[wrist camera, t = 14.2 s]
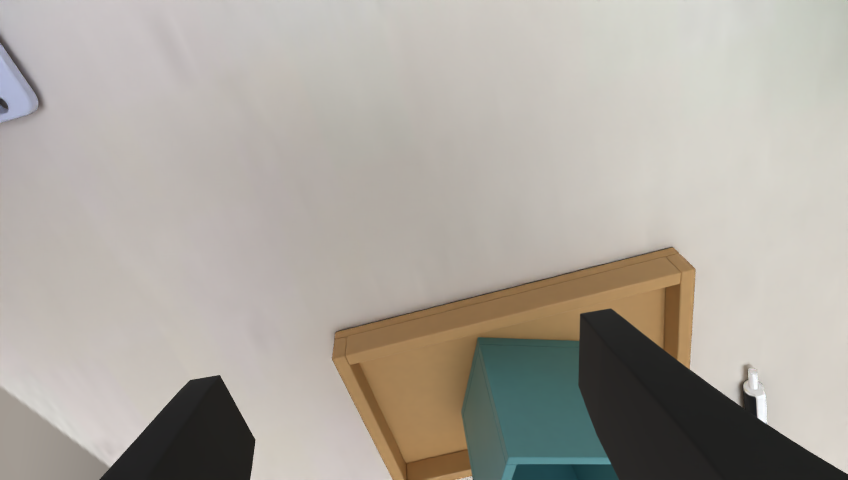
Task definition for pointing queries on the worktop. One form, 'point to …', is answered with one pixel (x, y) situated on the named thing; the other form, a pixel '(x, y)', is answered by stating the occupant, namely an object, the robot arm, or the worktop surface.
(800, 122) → the worktop surface
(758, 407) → the pen
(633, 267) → the tray
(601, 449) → the tub
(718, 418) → the robot arm
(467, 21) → the worktop surface
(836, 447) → the worktop surface
